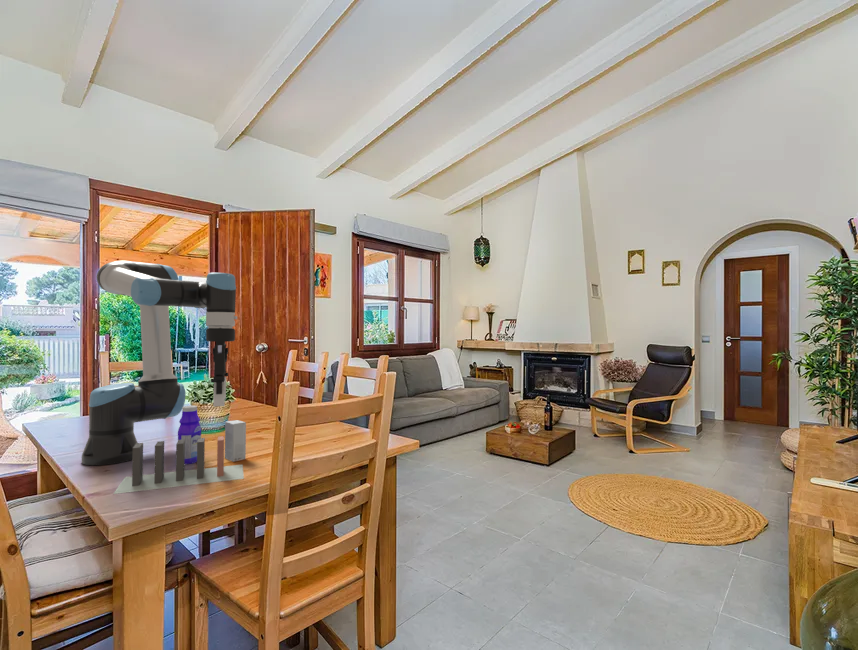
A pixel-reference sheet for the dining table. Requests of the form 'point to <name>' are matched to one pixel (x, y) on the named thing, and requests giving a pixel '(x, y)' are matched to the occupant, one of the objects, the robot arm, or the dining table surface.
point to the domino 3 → (180, 460)
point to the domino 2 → (159, 462)
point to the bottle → (190, 432)
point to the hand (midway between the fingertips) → (219, 402)
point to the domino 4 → (200, 457)
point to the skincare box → (235, 440)
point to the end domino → (220, 456)
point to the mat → (189, 479)
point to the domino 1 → (137, 464)
